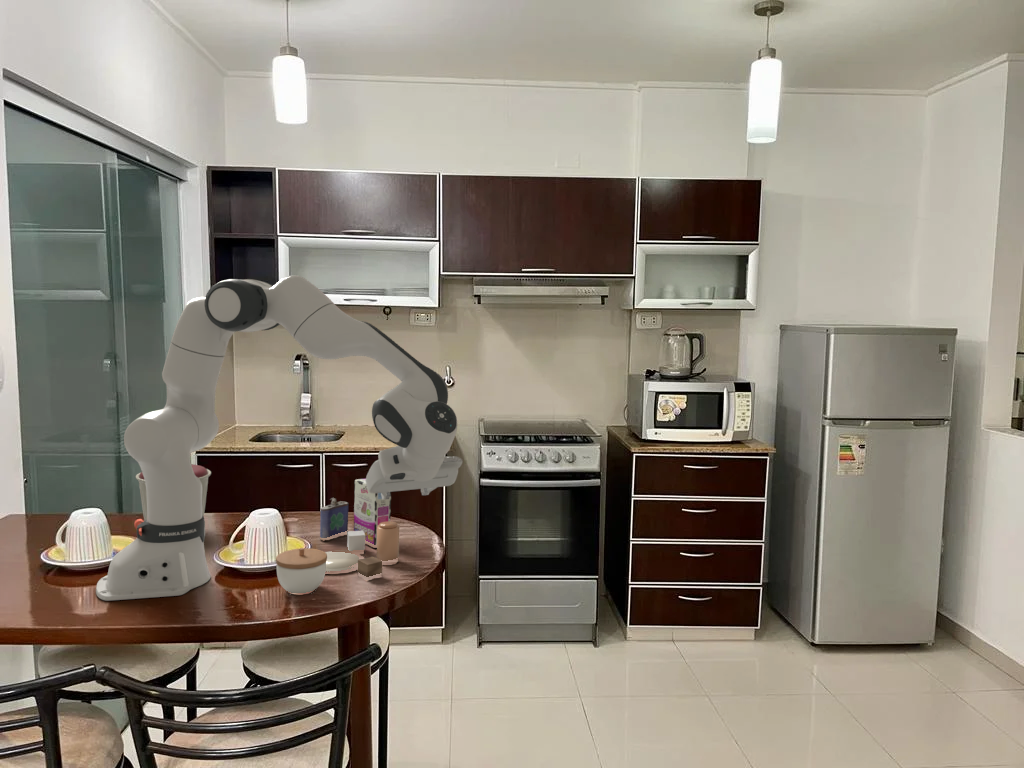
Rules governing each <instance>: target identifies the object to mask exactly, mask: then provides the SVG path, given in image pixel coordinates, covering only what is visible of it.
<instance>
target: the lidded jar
mask: <svg viewBox="0 0 1024 768" xmlns="http://www.w3.org/2000/svg"><path fill="white" fill-rule="evenodd" d="M325 552H326V551H323V550H321V549H317V548H310V547H307V548H304V547H299V548H293V549H289V550H285V551H282V552H281V553H279V554H277V556H276V557H275V564H276V576H277V580H278V583H279V584H280V586H281V587H282V588H283V589H284V590H285V591H286V592H287V591H288V592H291V593H306V592H310V591H313V590H315V589H316V590H317V589H318V587H320V586H321V584H322V583H323V581H324V579H325V576H326V575H325V572H326V561H327V554H326V553H325ZM316 590H315V591H316Z"/></svg>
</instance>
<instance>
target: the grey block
mask: <svg viewBox="0 0 1024 768" xmlns="http://www.w3.org/2000/svg"><path fill="white" fill-rule="evenodd" d="M346 536H347V537H346V538H347V539H346V540H347V541H346V543H347V545H346V548H347V547H348V550H349V551H353V550H364V549H365V550H366V545H365V533H364V531H354V530H348V531H347V535H346Z"/></svg>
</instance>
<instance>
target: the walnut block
mask: <svg viewBox="0 0 1024 768" xmlns="http://www.w3.org/2000/svg"><path fill="white" fill-rule="evenodd" d="M358 572H359V573H360V574H362V575H364V576H366V577H369V576H373V575H376V574H380V573H382V574H383V566H382V561H381V560H379V559H377V557H375V556H369V557H365V558H364V559H360V560H358V571H357V573H358Z"/></svg>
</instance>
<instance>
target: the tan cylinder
mask: <svg viewBox="0 0 1024 768" xmlns="http://www.w3.org/2000/svg"><path fill="white" fill-rule="evenodd" d="M398 557H399V558H400V525H399V524H398V523H397V522H395V521H392V520H390V521H386V522H381V523H379V525H378V526H377V549H376V558H377V559H379V560H382V561H388V560H393V559H396V558H398Z"/></svg>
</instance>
